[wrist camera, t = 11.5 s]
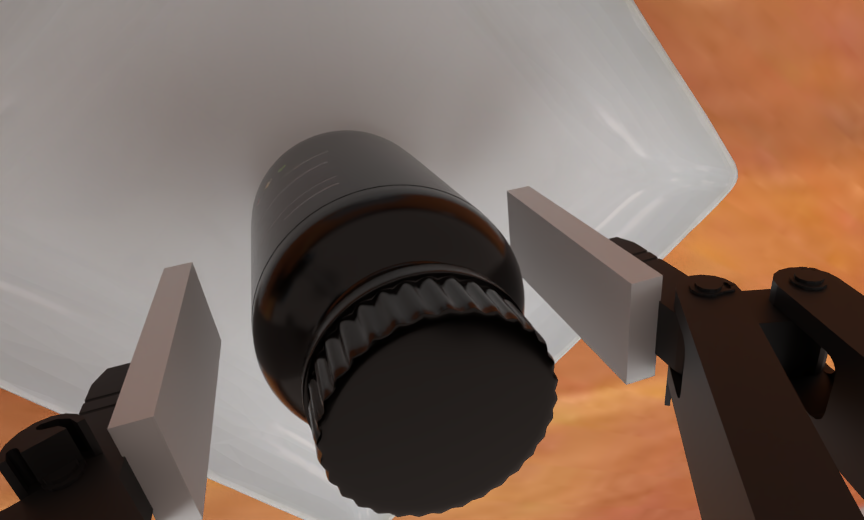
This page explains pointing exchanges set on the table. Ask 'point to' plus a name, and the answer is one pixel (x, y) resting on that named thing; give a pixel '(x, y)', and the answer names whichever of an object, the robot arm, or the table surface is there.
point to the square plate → (281, 130)
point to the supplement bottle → (394, 326)
